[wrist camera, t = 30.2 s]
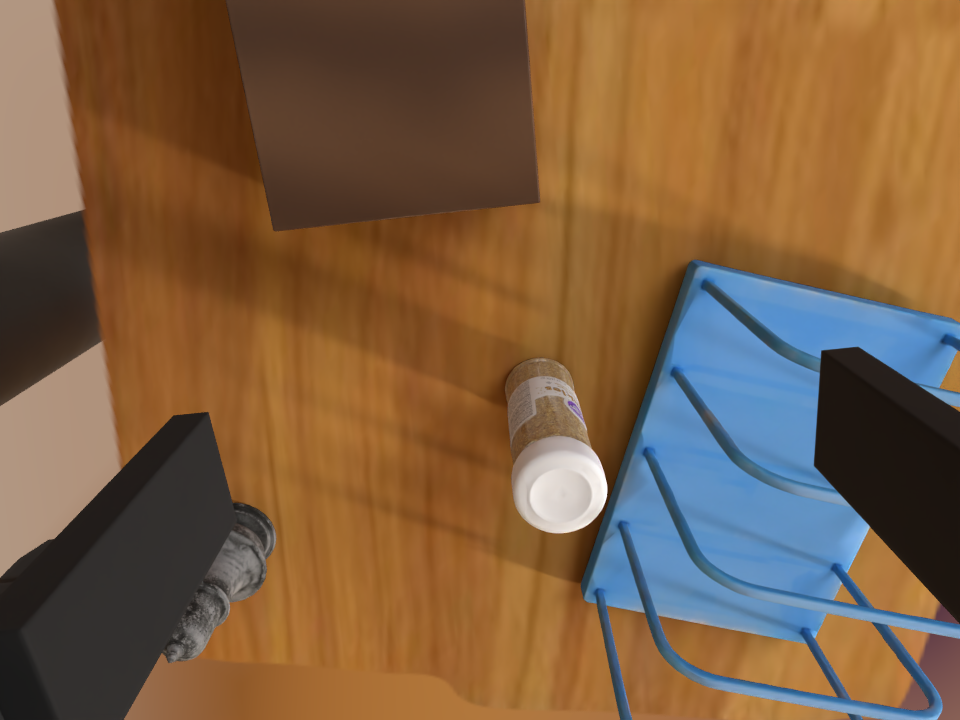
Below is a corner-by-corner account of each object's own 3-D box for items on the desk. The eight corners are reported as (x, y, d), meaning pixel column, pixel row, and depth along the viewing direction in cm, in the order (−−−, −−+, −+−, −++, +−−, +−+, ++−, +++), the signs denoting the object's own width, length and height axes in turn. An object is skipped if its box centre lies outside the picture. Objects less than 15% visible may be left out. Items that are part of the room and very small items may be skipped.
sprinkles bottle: (587, 380, 46) (629, 486, 33) (544, 431, 47) (569, 553, 34) (531, 341, 45) (552, 436, 32) (489, 394, 46) (493, 505, 33)
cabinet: (255, -102, 36) (190, -162, 28) (502, -133, 36) (509, -203, 28) (313, 206, 42) (273, 232, 33) (527, 182, 41) (540, 202, 33)
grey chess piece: (290, 514, 49) (235, 638, 38) (267, 579, 51) (208, 715, 40) (208, 487, 48) (126, 605, 37) (188, 554, 50) (104, 686, 39)
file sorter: (688, 256, 43) (794, 336, 28) (949, 316, 44) (1178, 420, 30) (578, 586, 51) (618, 775, 37) (801, 627, 53) (923, 825, 38)
